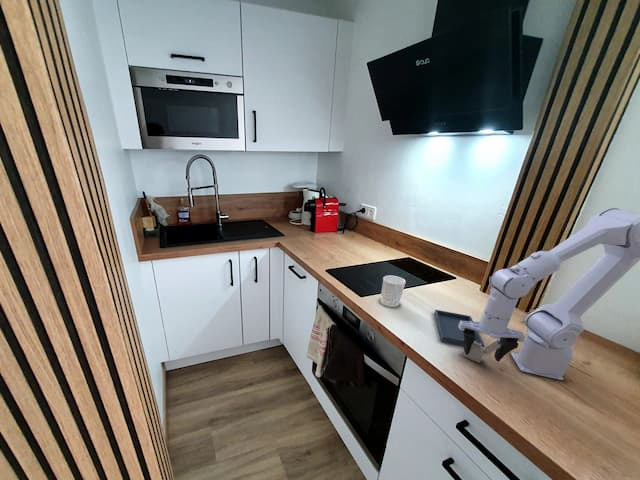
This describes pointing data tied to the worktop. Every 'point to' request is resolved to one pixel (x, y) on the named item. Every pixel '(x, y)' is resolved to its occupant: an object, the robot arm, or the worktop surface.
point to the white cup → (392, 290)
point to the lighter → (481, 350)
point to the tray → (452, 327)
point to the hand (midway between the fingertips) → (480, 355)
